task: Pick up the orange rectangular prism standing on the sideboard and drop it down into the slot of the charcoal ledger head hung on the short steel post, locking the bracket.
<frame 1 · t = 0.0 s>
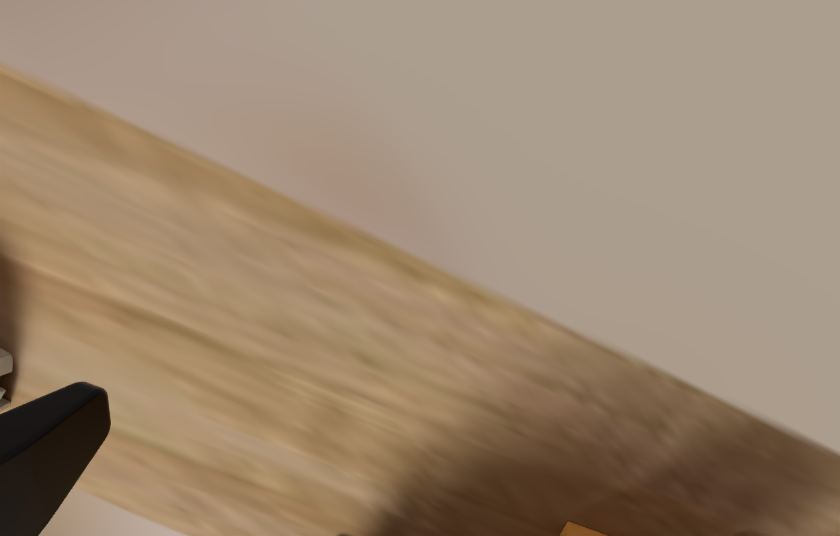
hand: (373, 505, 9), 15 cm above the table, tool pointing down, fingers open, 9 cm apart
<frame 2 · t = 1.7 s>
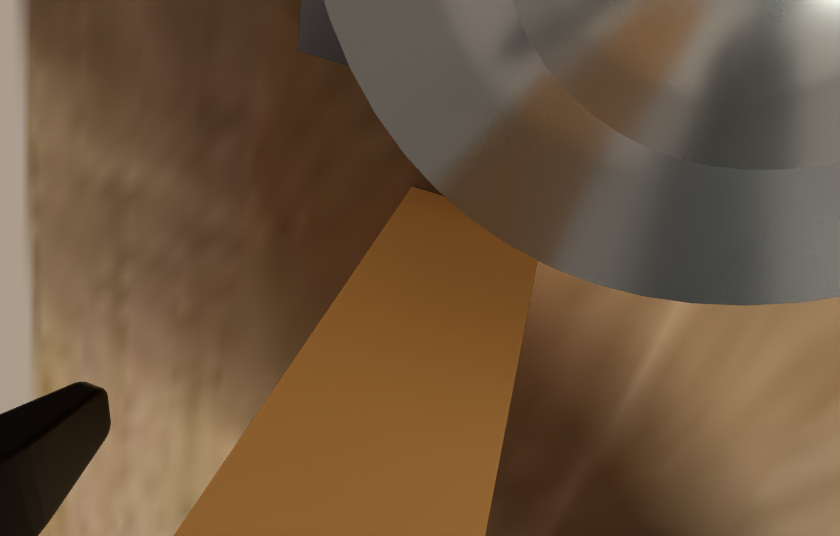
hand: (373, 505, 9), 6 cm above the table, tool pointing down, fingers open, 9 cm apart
orange rectangular prism: (455, 279, 14), on the table
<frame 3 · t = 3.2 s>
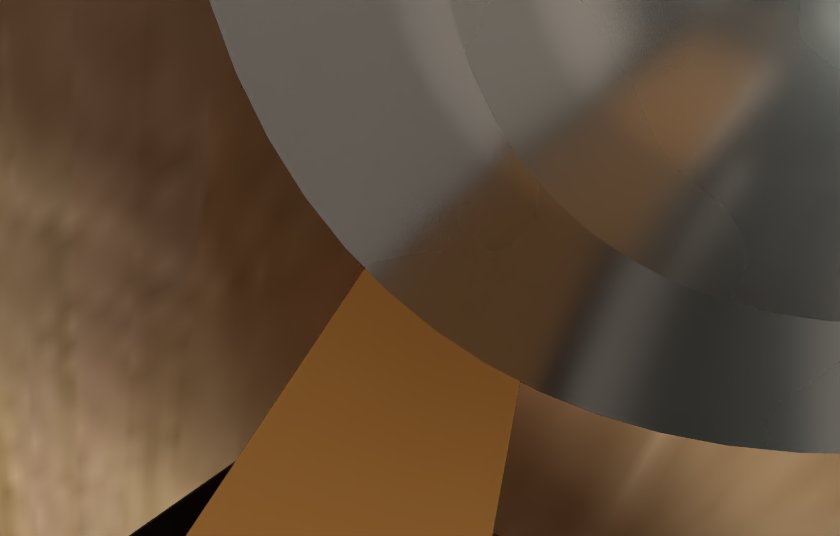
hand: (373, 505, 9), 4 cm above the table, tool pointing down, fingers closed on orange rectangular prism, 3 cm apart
orange rectangular prism: (436, 343, 12), on the table, touching gripper
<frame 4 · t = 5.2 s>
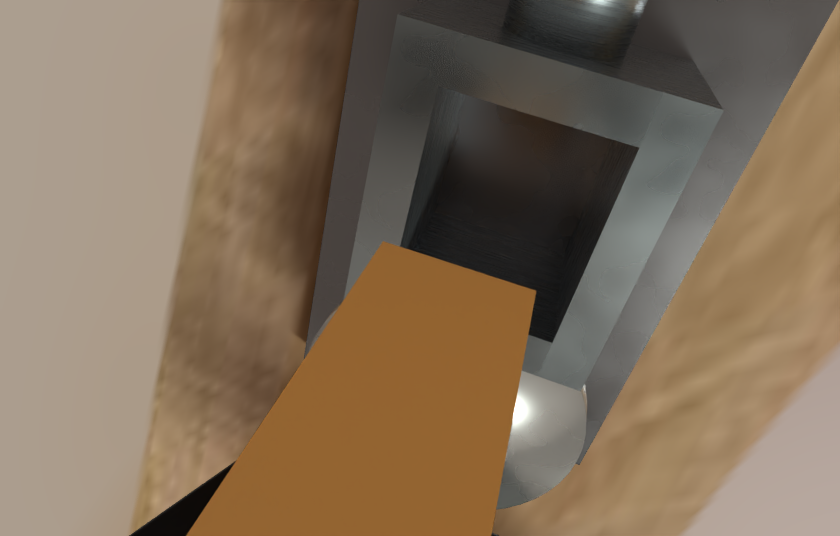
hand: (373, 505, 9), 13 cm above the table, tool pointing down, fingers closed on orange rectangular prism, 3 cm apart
orange rectangular prism: (435, 345, 12), point 9 cm above the table, touching gripper
bracket: (509, 201, 21), on the table
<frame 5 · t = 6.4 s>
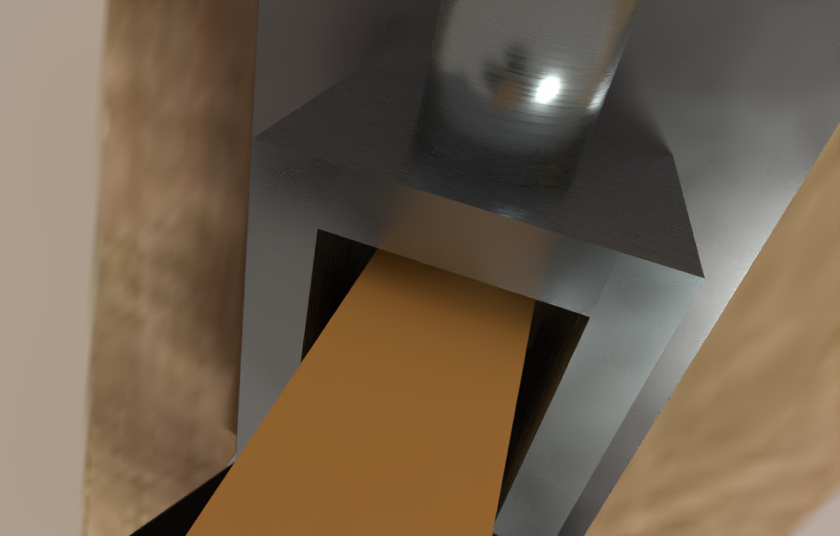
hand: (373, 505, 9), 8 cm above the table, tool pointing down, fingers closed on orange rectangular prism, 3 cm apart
orange rectangular prism: (435, 344, 12), point 4 cm above the table, touching gripper
bracket: (457, 300, 17), on the table
when the fingers open (7 cm above the table, at t = 7.3 s): orange rectangular prism drops 2 cm, resting on bracket.
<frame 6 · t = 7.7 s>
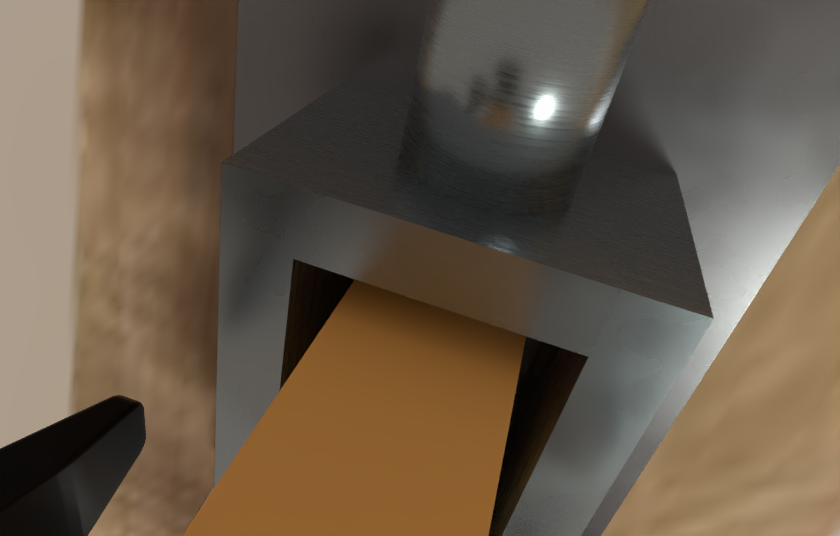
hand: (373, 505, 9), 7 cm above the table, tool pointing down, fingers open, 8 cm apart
orange rectangular prism: (459, 281, 14), point 1 cm above the table, touching bracket
bracket: (450, 320, 16), on the table
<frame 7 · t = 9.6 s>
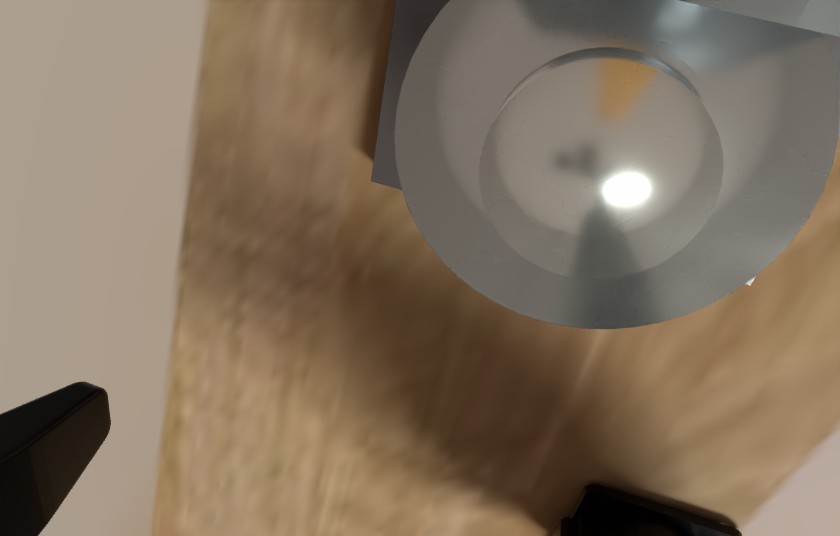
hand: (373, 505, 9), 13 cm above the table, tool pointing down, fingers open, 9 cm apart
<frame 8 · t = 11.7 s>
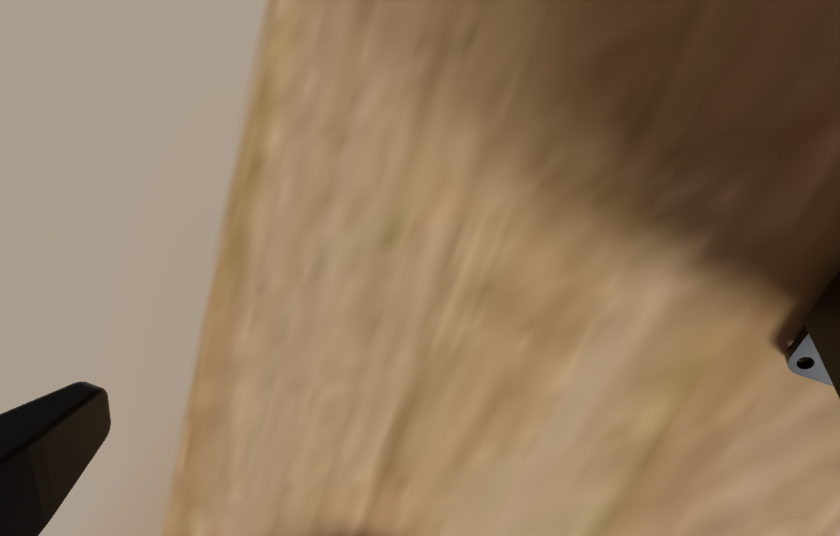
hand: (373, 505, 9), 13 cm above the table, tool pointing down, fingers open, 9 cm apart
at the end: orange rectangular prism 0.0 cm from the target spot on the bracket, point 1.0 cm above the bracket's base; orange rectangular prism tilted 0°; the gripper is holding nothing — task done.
